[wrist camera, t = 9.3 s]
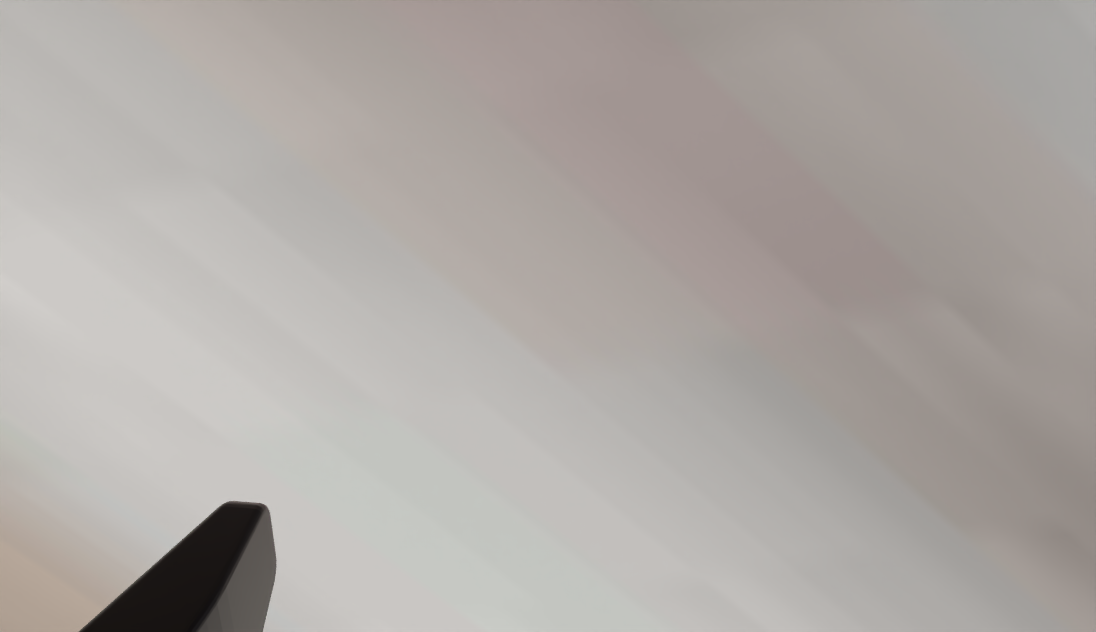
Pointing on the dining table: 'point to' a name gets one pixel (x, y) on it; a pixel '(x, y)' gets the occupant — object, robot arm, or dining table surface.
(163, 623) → the robot arm
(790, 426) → the dining table surface
